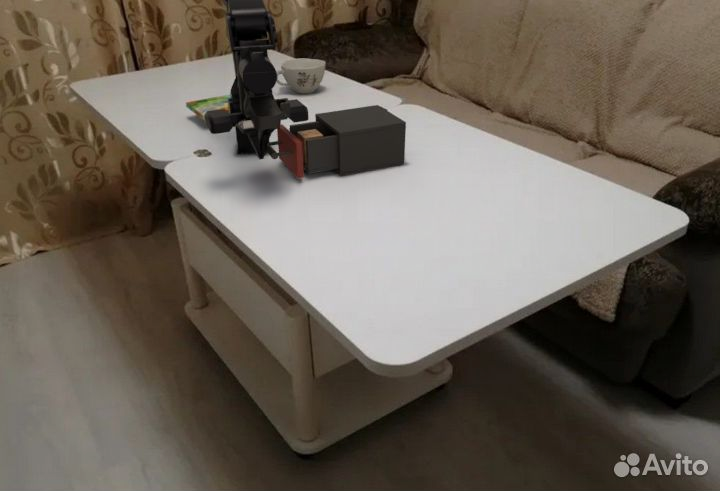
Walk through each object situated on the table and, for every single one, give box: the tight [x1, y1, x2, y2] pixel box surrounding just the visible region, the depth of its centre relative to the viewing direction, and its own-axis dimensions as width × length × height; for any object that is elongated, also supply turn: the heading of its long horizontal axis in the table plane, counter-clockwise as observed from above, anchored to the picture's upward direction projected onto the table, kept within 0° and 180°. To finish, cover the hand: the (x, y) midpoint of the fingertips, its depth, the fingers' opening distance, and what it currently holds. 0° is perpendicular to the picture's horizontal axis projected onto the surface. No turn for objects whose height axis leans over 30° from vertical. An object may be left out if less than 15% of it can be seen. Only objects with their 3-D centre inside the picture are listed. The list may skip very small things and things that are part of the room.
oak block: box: [297, 129, 323, 164], centre depth 120 cm, size 4×4×6 cm
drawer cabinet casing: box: [314, 104, 407, 177], centre depth 124 cm, size 15×13×9 cm
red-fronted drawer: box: [266, 120, 339, 180], centre depth 120 cm, size 18×11×7 cm, turn 115°
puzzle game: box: [185, 94, 231, 121], centre depth 149 cm, size 12×5×20 cm
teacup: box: [276, 57, 327, 94], centre depth 168 cm, size 15×12×8 cm
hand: (260, 158), depth 116 cm, fingers closed
